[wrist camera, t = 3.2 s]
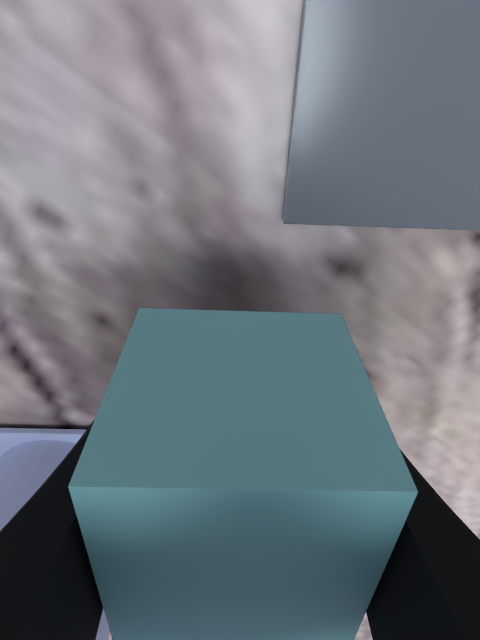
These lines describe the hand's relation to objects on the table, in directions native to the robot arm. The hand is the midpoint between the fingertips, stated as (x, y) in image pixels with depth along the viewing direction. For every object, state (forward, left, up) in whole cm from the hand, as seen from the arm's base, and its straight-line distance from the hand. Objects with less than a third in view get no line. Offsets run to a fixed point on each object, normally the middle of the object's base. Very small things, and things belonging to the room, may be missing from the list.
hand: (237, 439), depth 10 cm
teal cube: (0, 0, -2) cm, 2 cm away
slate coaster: (+7, -5, -8) cm, 11 cm away
